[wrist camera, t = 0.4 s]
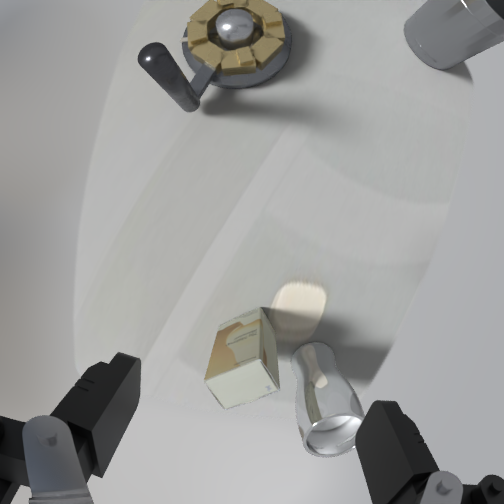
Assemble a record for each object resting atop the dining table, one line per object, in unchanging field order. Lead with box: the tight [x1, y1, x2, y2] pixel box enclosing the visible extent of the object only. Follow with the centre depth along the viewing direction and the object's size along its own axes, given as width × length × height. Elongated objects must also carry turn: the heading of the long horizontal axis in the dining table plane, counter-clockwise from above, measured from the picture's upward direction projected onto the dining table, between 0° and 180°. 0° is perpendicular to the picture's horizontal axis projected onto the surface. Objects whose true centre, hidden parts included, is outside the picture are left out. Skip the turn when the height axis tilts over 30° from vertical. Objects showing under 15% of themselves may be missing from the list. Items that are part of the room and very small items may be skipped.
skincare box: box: [204, 308, 280, 410], centre depth 33 cm, size 6×4×12 cm
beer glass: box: [291, 342, 365, 457], centre depth 32 cm, size 7×7×15 cm
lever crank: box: [138, 0, 285, 112], centre depth 23 cm, size 16×11×14 cm, turn 140°
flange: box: [180, 9, 292, 89], centre depth 28 cm, size 13×13×6 cm
